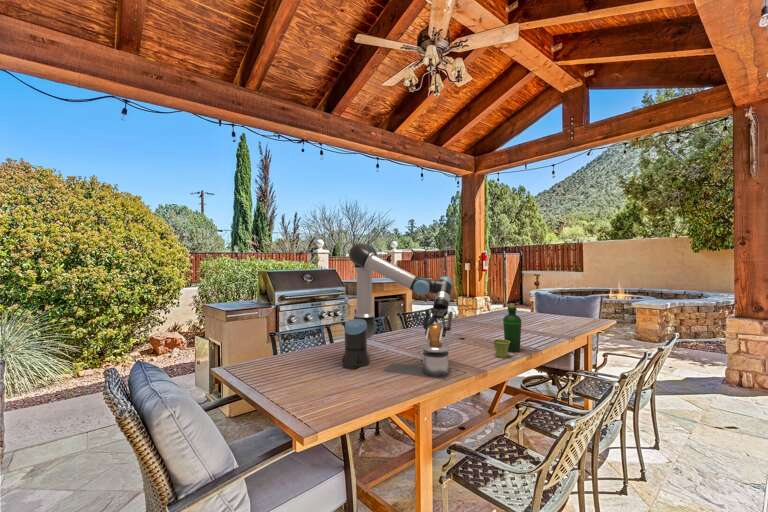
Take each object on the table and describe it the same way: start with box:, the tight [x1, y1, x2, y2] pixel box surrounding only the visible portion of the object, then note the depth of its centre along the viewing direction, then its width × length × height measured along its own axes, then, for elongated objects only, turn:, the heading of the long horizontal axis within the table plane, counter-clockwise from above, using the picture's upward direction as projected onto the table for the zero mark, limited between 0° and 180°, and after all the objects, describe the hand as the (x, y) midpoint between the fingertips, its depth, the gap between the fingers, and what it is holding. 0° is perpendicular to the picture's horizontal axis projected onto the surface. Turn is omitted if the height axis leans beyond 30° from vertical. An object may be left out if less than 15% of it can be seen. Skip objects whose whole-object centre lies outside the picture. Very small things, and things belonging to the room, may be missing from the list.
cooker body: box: [422, 350, 449, 378], centre depth 168 cm, size 12×12×10 cm
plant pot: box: [492, 338, 510, 359], centre depth 199 cm, size 9×9×9 cm
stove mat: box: [381, 362, 453, 381], centre depth 172 cm, size 32×14×1 cm, turn 67°
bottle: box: [502, 303, 522, 353], centre depth 210 cm, size 11×11×28 cm
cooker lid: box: [421, 323, 450, 352], centre depth 168 cm, size 13×13×11 cm
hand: (433, 341), depth 165 cm, fingers closed on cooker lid, 6 cm apart
